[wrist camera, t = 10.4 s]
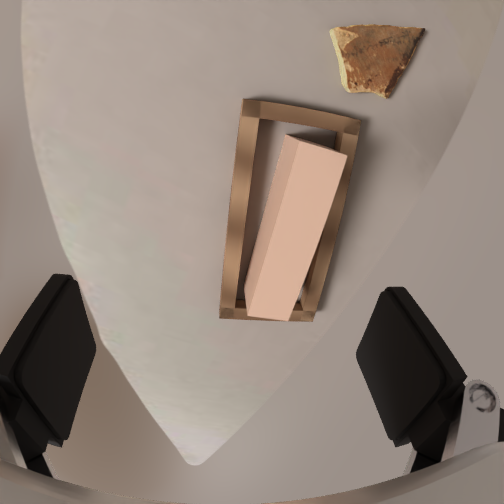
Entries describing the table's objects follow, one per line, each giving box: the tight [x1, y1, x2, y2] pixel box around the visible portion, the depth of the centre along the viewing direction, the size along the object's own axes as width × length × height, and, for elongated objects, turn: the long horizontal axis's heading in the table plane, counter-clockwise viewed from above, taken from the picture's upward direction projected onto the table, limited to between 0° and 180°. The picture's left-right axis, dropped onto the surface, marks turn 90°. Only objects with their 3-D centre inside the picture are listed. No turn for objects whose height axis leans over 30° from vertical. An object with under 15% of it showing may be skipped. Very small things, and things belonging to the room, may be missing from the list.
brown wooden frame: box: [219, 99, 361, 322], centre depth 29 cm, size 22×10×2 cm, turn 173°
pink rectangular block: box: [244, 135, 347, 321], centre depth 27 cm, size 16×4×6 cm, turn 166°
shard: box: [330, 24, 425, 99], centre depth 22 cm, size 11×8×2 cm
